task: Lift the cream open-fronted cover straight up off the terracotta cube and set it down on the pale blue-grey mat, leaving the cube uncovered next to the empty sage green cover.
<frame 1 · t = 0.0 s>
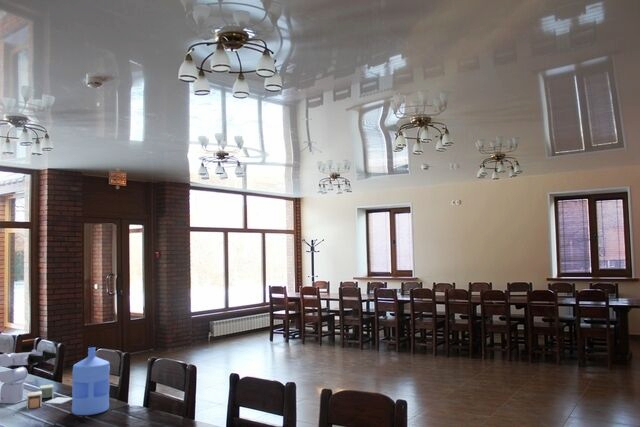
hand: (50, 356, 253), 22 cm above the table, tool horizontal, fingers open, 7 cm apart
cream cover: (34, 406, 246), on the table
terracotta cube: (34, 402, 246), in the cream cover
blue-grey mat: (59, 401, 255), on the table
sage green cover: (46, 398, 260), on the table
water jug: (90, 411, 238), on the table
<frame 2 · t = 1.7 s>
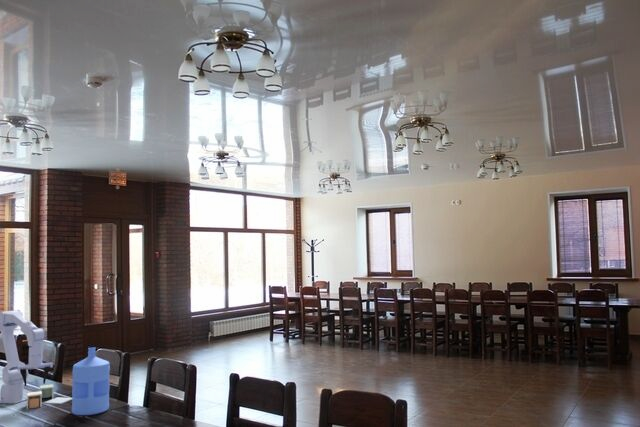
hand: (34, 384, 247), 10 cm above the table, tool pointing down, fingers open, 7 cm apart
nothing on the table moved.
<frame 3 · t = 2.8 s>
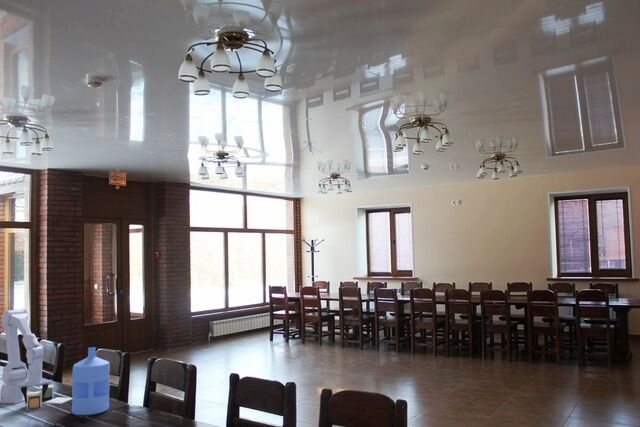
hand: (34, 402, 246), 2 cm above the table, tool pointing down, fingers closed on cream cover, 6 cm apart
cream cover: (34, 406, 246), on the table, touching gripper
everything else where it was.
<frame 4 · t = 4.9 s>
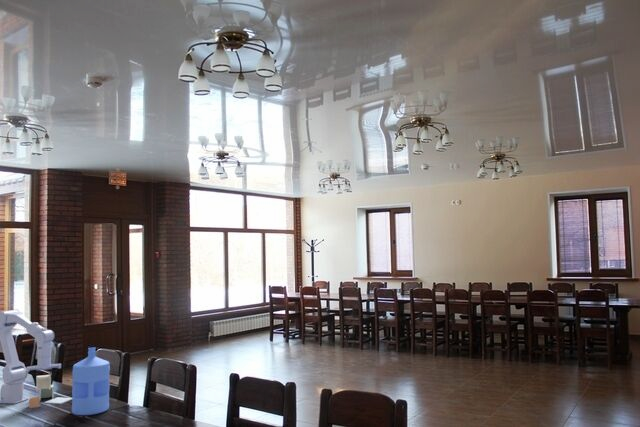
hand: (43, 385, 250), 9 cm above the table, tool pointing down, fingers closed on cream cover, 6 cm apart
cream cover: (43, 389, 250), point 7 cm above the table, touching gripper
everything else where it was.
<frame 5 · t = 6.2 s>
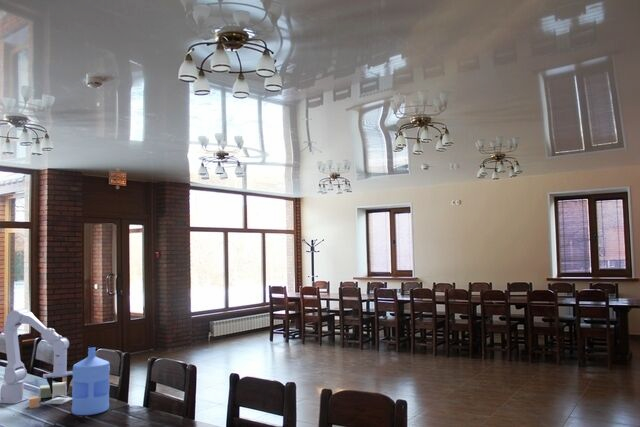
hand: (59, 392, 255), 4 cm above the table, tool pointing down, fingers closed on cream cover, 6 cm apart
cream cover: (59, 396, 255), point 2 cm above the table, touching gripper
everything else where it was.
when the fingers open (4 cm above the table, at t = 7.3 s): cream cover drops 1 cm, resting on blue-grey mat.
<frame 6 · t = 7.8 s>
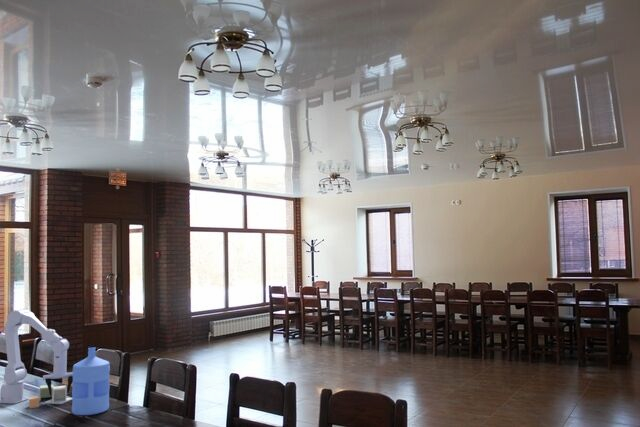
hand: (59, 393, 255), 4 cm above the table, tool pointing down, fingers open, 7 cm apart
cream cover: (59, 400, 255), resting on blue-grey mat
everything else where it was.
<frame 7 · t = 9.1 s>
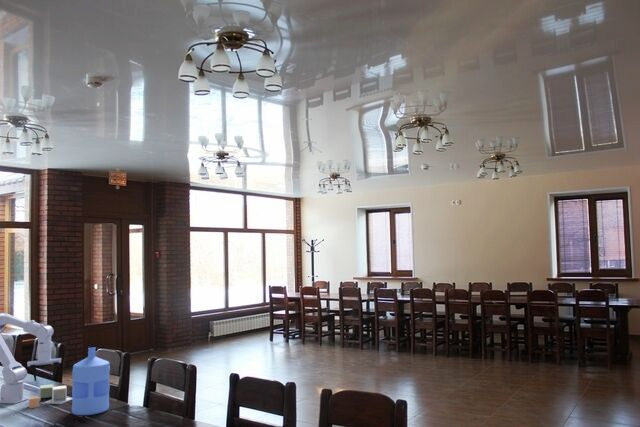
hand: (44, 379, 255), 10 cm above the table, tool pointing down, fingers open, 7 cm apart
nothing on the table moved.
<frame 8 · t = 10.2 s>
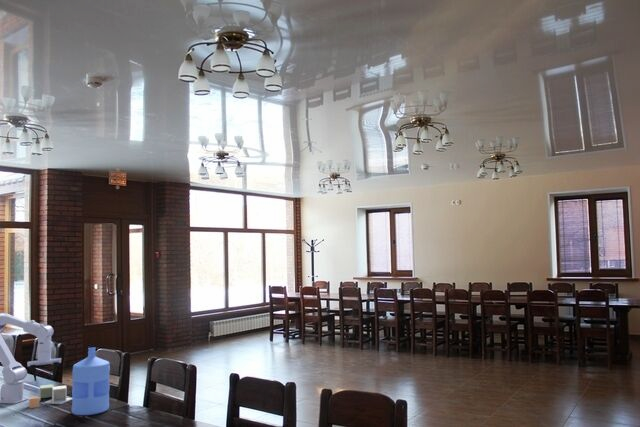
hand: (44, 379, 255), 10 cm above the table, tool pointing down, fingers open, 7 cm apart
nothing on the table moved.
at the end: cream cover 0.1 cm off-centre on the blue-grey mat, point 0.5 cm above the blue-grey mat's base; cream cover tilted 0°; terracotta cube moved 0.1 cm from its start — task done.
